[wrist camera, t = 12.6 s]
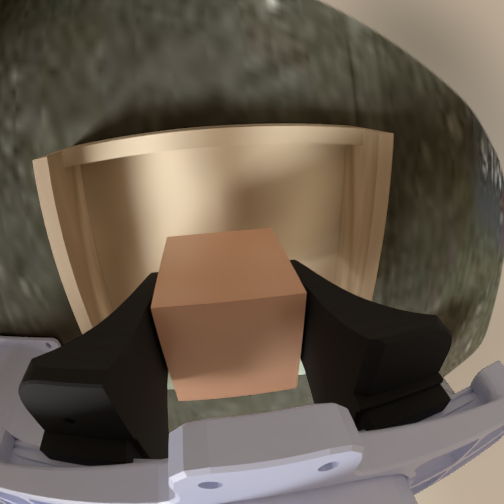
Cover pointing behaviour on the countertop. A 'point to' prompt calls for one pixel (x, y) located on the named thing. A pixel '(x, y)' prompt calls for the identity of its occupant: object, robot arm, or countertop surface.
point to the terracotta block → (229, 314)
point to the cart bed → (214, 202)
